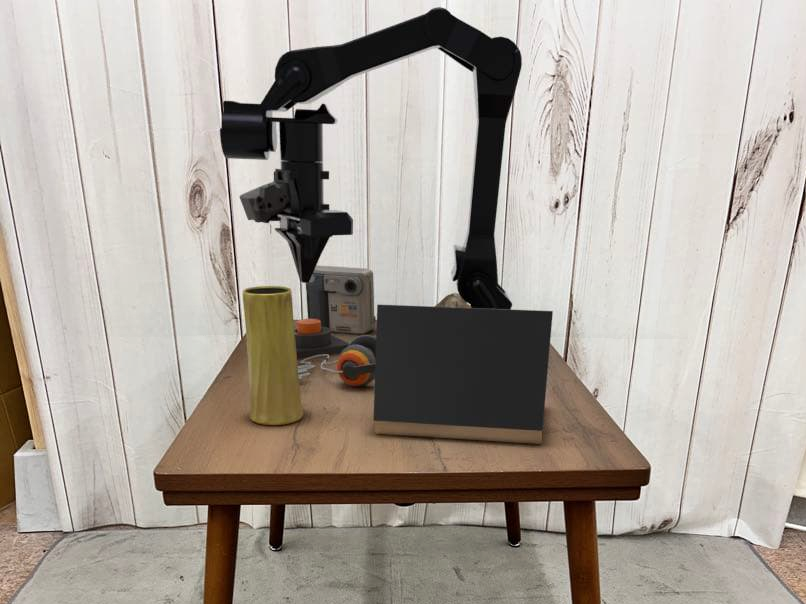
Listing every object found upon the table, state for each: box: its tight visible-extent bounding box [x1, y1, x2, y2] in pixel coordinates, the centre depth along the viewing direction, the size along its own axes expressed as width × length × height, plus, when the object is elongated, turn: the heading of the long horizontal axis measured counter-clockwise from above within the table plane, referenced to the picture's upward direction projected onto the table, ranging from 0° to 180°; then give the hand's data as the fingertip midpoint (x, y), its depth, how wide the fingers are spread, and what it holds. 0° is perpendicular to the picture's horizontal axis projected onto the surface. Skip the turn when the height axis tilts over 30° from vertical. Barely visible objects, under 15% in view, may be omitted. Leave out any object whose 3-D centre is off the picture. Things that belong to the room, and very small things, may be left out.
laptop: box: [374, 421, 543, 445], centre depth 89 cm, size 12×18×2 cm, turn 80°
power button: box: [295, 318, 321, 334], centre depth 116 cm, size 4×4×2 cm
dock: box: [294, 326, 350, 360], centre depth 117 cm, size 10×8×3 cm
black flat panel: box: [372, 304, 554, 432], centre depth 81 cm, size 12×18×1 cm
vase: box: [242, 285, 304, 426], centre depth 87 cm, size 6×6×14 cm
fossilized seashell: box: [433, 292, 471, 308], centre depth 129 cm, size 8×7×10 cm
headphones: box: [297, 334, 376, 387], centre depth 103 cm, size 17×5×20 cm
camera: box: [305, 264, 377, 335], centre depth 128 cm, size 11×6×10 cm, turn 67°
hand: (304, 282), depth 112 cm, fingers closed
